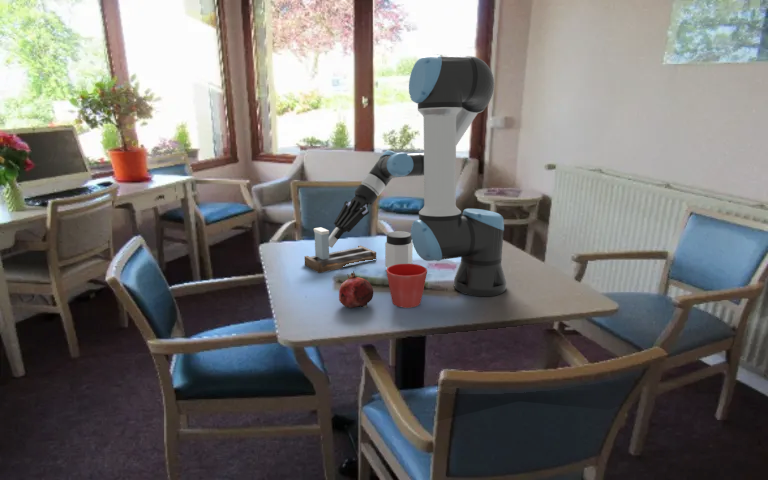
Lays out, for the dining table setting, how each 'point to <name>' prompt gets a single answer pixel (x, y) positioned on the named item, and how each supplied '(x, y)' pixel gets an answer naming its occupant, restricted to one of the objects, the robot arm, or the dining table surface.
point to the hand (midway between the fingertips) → (328, 245)
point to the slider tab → (321, 243)
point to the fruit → (355, 292)
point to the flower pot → (406, 284)
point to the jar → (398, 248)
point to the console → (340, 259)
